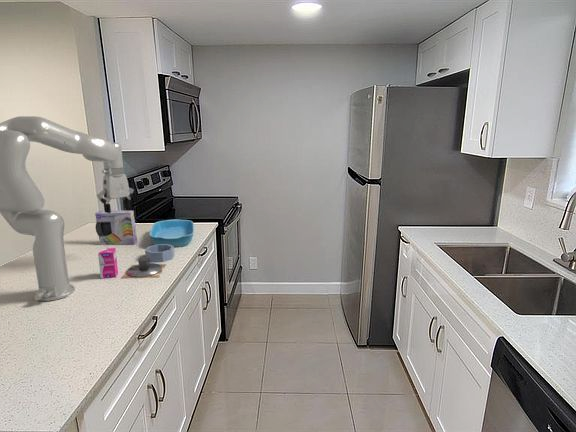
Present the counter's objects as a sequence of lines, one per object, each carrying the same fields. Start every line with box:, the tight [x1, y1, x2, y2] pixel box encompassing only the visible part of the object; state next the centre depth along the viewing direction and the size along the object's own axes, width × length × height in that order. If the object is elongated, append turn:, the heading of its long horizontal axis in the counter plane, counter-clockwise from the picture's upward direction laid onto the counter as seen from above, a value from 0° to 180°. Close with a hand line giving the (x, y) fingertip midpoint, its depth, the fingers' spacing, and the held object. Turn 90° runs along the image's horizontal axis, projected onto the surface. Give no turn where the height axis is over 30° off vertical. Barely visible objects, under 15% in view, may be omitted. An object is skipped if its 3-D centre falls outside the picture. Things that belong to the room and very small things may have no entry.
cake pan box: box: [94, 209, 138, 246], centre depth 191 cm, size 19×5×18 cm, turn 92°
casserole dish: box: [149, 218, 195, 248], centre depth 201 cm, size 37×22×7 cm, turn 15°
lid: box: [126, 257, 163, 277], centre depth 156 cm, size 14×14×5 cm
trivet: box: [120, 263, 167, 280], centre depth 157 cm, size 15×15×1 cm
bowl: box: [144, 244, 175, 263], centre depth 172 cm, size 12×12×5 cm
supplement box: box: [97, 247, 119, 280], centre depth 150 cm, size 6×6×12 cm
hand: (117, 210), depth 162 cm, fingers open, 9 cm apart
